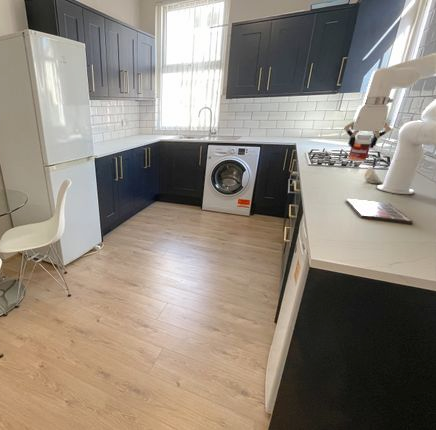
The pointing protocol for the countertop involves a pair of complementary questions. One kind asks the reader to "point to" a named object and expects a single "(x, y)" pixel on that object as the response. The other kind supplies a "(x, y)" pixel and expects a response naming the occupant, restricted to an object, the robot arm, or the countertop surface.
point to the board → (378, 211)
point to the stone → (372, 176)
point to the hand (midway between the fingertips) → (360, 146)
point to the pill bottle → (360, 148)
